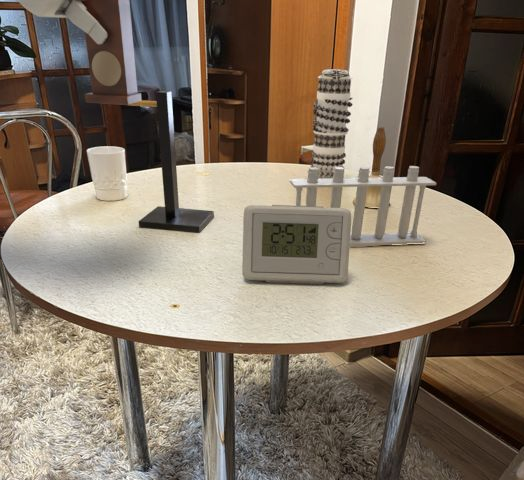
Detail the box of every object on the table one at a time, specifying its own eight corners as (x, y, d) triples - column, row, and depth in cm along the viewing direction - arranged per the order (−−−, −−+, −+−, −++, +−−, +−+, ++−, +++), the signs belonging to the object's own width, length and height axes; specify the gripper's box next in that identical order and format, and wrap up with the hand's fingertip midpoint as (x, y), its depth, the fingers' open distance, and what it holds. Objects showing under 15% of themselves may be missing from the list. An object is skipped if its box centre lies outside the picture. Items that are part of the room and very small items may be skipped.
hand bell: (390, 210, 110) (403, 131, 102) (352, 207, 112) (361, 128, 103) (389, 199, 117) (401, 124, 109) (353, 197, 118) (361, 122, 110)
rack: (129, 226, 98) (113, 92, 85) (149, 211, 106) (137, 87, 94) (199, 232, 96) (193, 96, 83) (214, 216, 104) (210, 90, 92)
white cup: (101, 191, 118) (94, 145, 112) (134, 193, 117) (129, 147, 112) (88, 200, 111) (80, 152, 106) (123, 202, 111) (117, 154, 105)
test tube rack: (415, 236, 97) (428, 163, 90) (424, 244, 93) (439, 169, 86) (285, 240, 93) (289, 165, 86) (290, 249, 89) (294, 171, 82)
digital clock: (237, 282, 77) (236, 212, 72) (251, 260, 85) (252, 195, 79) (344, 294, 75) (352, 223, 69) (349, 271, 82) (357, 205, 76)
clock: (85, 102, 68) (60, -80, 58) (102, 98, 72) (81, -73, 62) (127, 105, 67) (109, -79, 57) (142, 100, 71) (127, -72, 61)
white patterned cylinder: (351, 181, 131) (363, 70, 117) (330, 188, 125) (341, 72, 111) (322, 175, 136) (331, 68, 122) (301, 181, 130) (307, 69, 116)
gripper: (59, -27, 72) (132, 55, 76) (-39, -45, 55) (60, 63, 59) (84, -67, 69) (158, 21, 73) (-13, -98, 52) (90, 18, 56)
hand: (113, 40), depth 66 cm, fingers closed on clock, 3 cm apart
